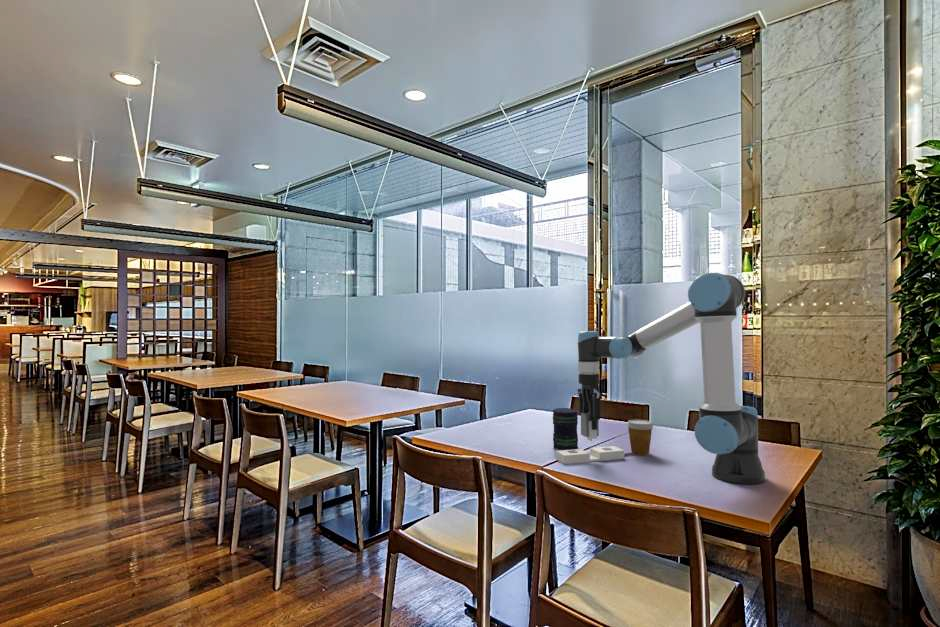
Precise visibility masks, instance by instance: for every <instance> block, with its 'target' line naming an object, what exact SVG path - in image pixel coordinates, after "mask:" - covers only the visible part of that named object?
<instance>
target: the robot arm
mask: <svg viewBox="0 0 940 627" xmlns="http://www.w3.org/2000/svg"><path fill="white" fill-rule="evenodd" d="M687 290H688V291H687V298H688V302H687V303H685V304H683V305H681V306H680V307H678V308H675V309H674V310H672V311H671V312H669V313H667V314H665V315H663V316H662V317H660V318H657V319H656V320H654V321H652V322H650V323H649V324H647V325H645V326H643V327H641V328H639V329H638V330H636V331H634V332H632V333H630V334H629V335H624V336H622V335H621V336H600V334H599V331H596V330H586V331H585V330H584V331H583V330H581V331H579V333H578V337H577V350H578V351H577V352H578V356H577V357H578V362H577V363H578V364H577V366H578V369H577V371H578V384H580V385H581V388H577V394H578V415H579V416H581V413H588V412H590V419H588V420H589V439H592V440H594V439H598V436H597V420H598V421H599V420H601V404H602V403H601V402H602V401H601V399H602V392H600V391H598V389H597V388H598V387H597V385H599V384H600V381H601V380H600V373H599V372H600V358H606V359H608V358H609V359H617V360H619V359H627V358H629V357H637V356H642V354H644V353H645V351H646V350H648V349H650V348H652V347H654V346H655V345H659V343H662V342H664V341H666V340H667V339H670V338H672V337H673V336H676V335H677V334H679V333H681V332H683V331H685V330H687V329H690V328H691V327H693V326H695V325H698V324H700V325H699V326H700V344H701V346H700V347H701V363H702V364H701V365H702V366H701V367H702V379H703V380H702V384H703V401H702V402H701V403H700V405H699V406H698V410H699V412H698V414H699V417H698V418H699V419H698V421H697V422H696V424H695V426H694V429H693V430H694V436H695V440H696V441H697V443H698V444H699V445H700V446H701V447H702V448H703V449H704V450H705V451H707V452H709V453H711V454H714V455H715V458H714V462H713V465H712V466H711V475H712V476H713V478H716V479H718V480H721V481H724V482H727V483H728V482H729V483H733V484H740V485H742V484H743V485H757V484H758V485H759V484H762V483H765V481H766V471H765V470H764V469H763V468H764V467H763V465H762V460H761V459H760V456H759V423H758V422H759V416H758V410H757V409H756V408H755V407H753V406H749V405H746V406H745V405H740V404H738V403H737V401H736V389H735V388H736V387H735V368H734V367H735V366H734V364H735V362H734V349H733V348H734V347H733V330H732V329H733V325H732V324H733V321H734V320H735V319H736V318H737V315H738V314H737V312H738V311H737V309H738V308H739V307H740V306H741V305H742V303H743V302H744V300H745V297H746V289H745V285H744V283H742V281H741V280H740V279H739V278H737V277H735V275H734V276H733V275H731V274H723V273H719V272H707V273H703V274H700V275H698V276H697V277H696V278H694V279H693V280H692V282H690V285H689V287H688V289H687Z"/></svg>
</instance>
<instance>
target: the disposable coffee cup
mask: <svg viewBox="0 0 940 627" xmlns="http://www.w3.org/2000/svg"><path fill="white" fill-rule="evenodd" d="M626 426H627V429H628V436H629V443H630V450H631V452H630V453H634V455H636V456H649V455H650V449H651V448H650V447H651V440H652V433H653V432H652V430H653V428H654V425H653V422H652V421H650V420H645V419H629V420H628V421H627V424H626Z"/></svg>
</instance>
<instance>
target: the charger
mask: <svg viewBox="0 0 940 627" xmlns="http://www.w3.org/2000/svg"><path fill="white" fill-rule="evenodd" d="M588 419H590V412H588V413H581V415H580V435H581V436H583V437H585V438H587V441H590V442H593V439H589V420H588ZM599 425H600V424H599V420H597V437H599V433H600V432H599V431H600V430H599V429H600V428H599V427H600V426H599Z"/></svg>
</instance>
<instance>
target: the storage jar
mask: <svg viewBox="0 0 940 627" xmlns="http://www.w3.org/2000/svg"><path fill="white" fill-rule="evenodd" d="M578 421H579V420H578V409H576V408H575V409H574V408H569V407H568V408H567V407H559V408H558V407H557V408H553V409H552V424H553V434H552V436H553V437H552V441H553V442H552V444H553V447H552V448H553V449H555V450H556V451H560V450H572V449H579V448H578V447H579V446H578V444H579V438H578V437H579V436H578V424H579V423H578Z"/></svg>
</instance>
